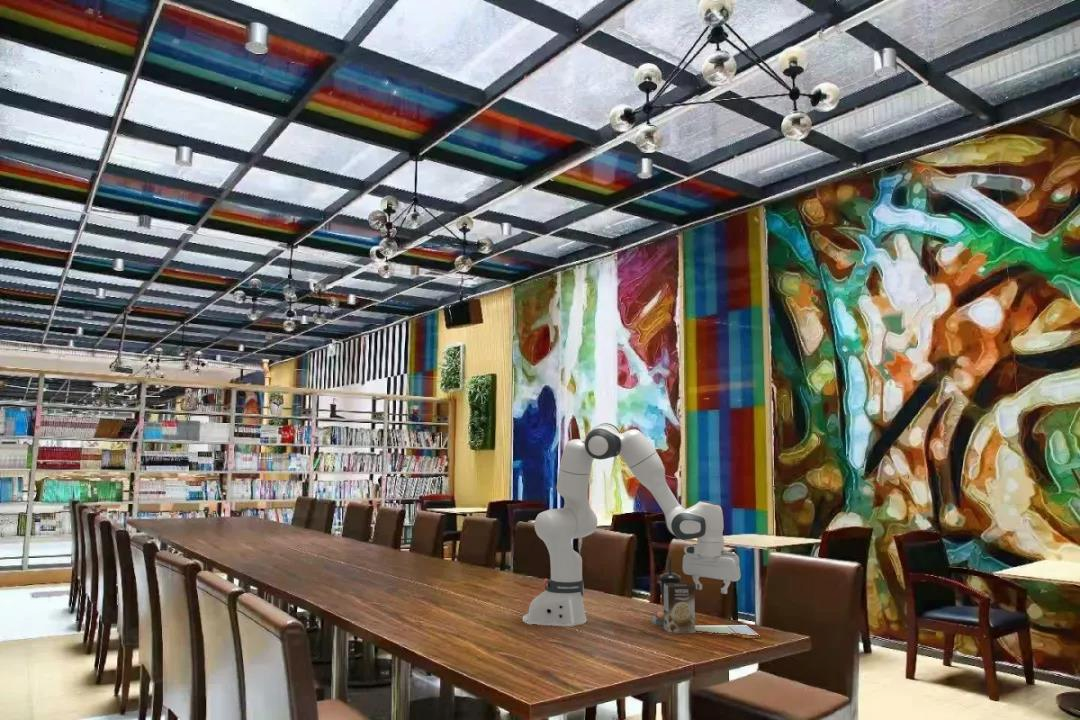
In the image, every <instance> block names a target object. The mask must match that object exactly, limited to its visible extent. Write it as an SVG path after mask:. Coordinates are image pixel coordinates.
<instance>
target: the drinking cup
mask: <svg viewBox="0 0 1080 720" xmlns="http://www.w3.org/2000/svg"><path fill="white" fill-rule="evenodd" d="M668 560H669V561H668V563H669V564H668V566H669V567H668V569H669V570H668V571H669V572H664V573H663V574H660V575H659V577H660V583H661V593H662V594H661V595H662V604H663V606H664V583H681V578H682V577H681V575H679V574H677V573H675V572H672V558H670V557H669V558H668Z"/></svg>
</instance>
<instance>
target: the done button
mask: <svg viewBox="0 0 1080 720" xmlns="http://www.w3.org/2000/svg"><path fill="white" fill-rule="evenodd" d="M656 614H657V615H656V616H657V619H664V611H658V612H656Z"/></svg>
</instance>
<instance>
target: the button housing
mask: <svg viewBox="0 0 1080 720" xmlns="http://www.w3.org/2000/svg"><path fill="white" fill-rule="evenodd" d="M651 624H653V625H654V626H659V627H660V626H661V627H664V619H657V615H652V621H651Z"/></svg>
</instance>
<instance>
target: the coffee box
mask: <svg viewBox="0 0 1080 720" xmlns="http://www.w3.org/2000/svg"><path fill="white" fill-rule="evenodd" d="M695 596H696V585H693V584H691V583H690V582H680V583H664V605H663V612H664V626H663V629H664V630H665V632H668V633H675V634H695V633H696V631H695V625H696V622H695V621H696V620H695V619H696V613H695V611H696V608H695V607H696V605H695V604H696V603H695Z"/></svg>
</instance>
